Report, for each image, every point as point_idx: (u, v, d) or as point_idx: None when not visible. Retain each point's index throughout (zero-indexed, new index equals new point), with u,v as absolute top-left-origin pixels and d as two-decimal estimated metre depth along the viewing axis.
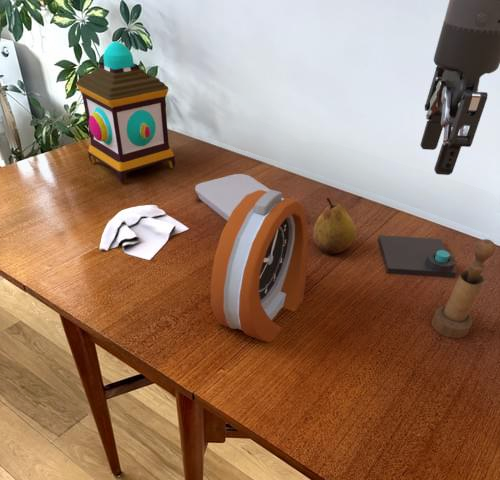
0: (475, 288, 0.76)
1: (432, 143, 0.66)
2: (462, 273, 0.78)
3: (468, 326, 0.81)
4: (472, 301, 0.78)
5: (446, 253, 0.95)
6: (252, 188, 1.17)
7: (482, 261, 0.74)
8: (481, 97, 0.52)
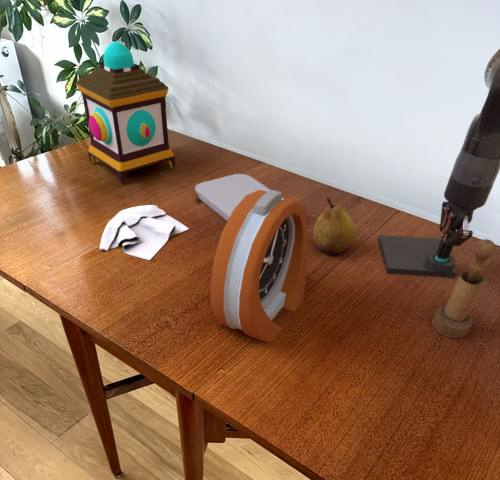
0: (475, 288, 0.76)
1: None
2: (462, 273, 0.78)
3: (468, 326, 0.81)
4: (472, 301, 0.78)
5: None
6: (252, 188, 1.17)
7: (482, 261, 0.74)
8: (468, 236, 0.85)
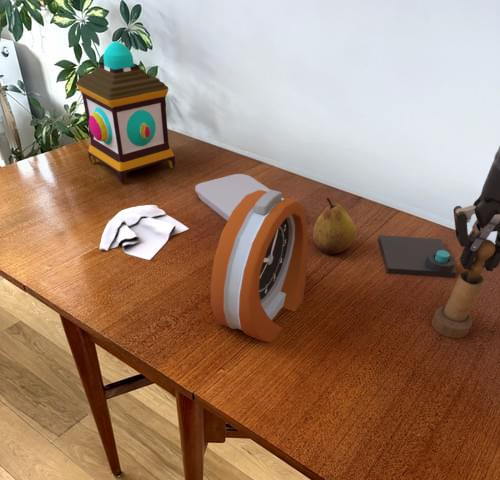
0: (474, 288, 0.76)
1: (488, 265, 0.75)
2: (462, 273, 0.78)
3: (468, 326, 0.81)
4: (472, 301, 0.78)
5: (446, 253, 0.95)
6: (252, 188, 1.17)
7: (482, 261, 0.74)
8: (456, 215, 0.69)
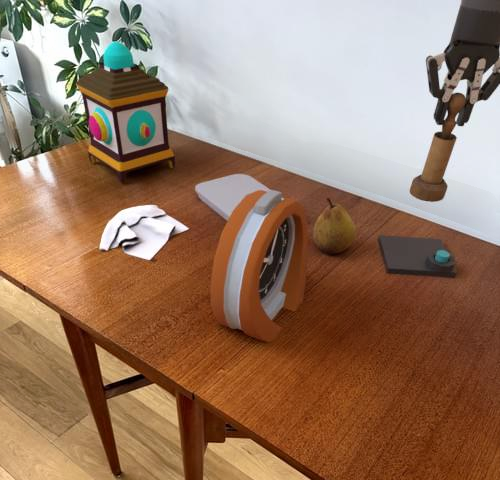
0: (448, 143, 0.81)
1: (459, 120, 0.80)
2: (436, 133, 0.83)
3: (443, 188, 0.86)
4: (446, 160, 0.83)
5: (446, 253, 0.95)
6: (252, 188, 1.17)
7: (454, 115, 0.79)
8: (428, 62, 0.74)
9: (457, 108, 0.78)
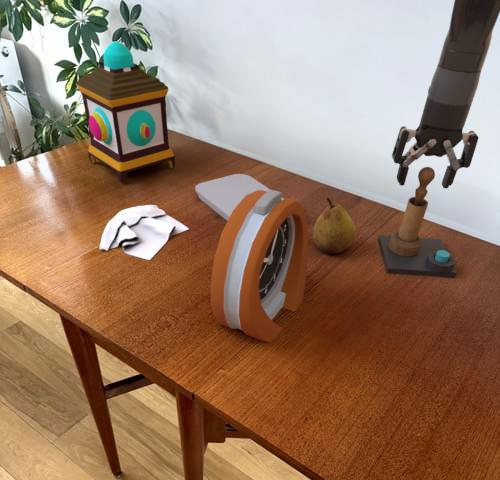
0: (420, 209, 0.92)
1: (444, 183, 0.90)
2: (410, 199, 0.94)
3: (417, 245, 0.98)
4: (419, 222, 0.95)
5: (446, 253, 0.95)
6: (252, 188, 1.17)
7: (425, 185, 0.90)
8: (402, 132, 0.84)
9: (427, 181, 0.89)
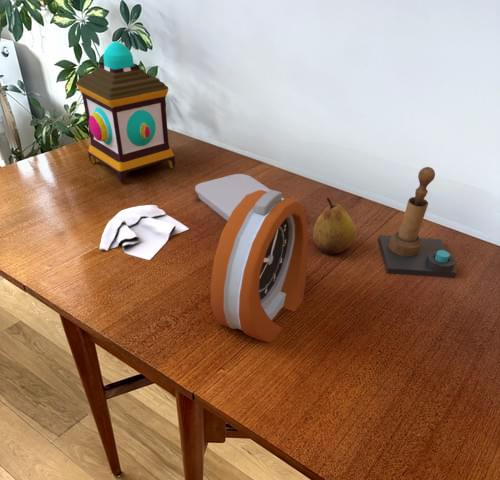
0: (420, 209, 0.92)
1: None
2: (411, 199, 0.94)
3: (417, 245, 0.98)
4: (419, 222, 0.95)
5: (446, 253, 0.95)
6: (252, 188, 1.17)
7: (425, 186, 0.90)
8: None
9: (427, 181, 0.89)
